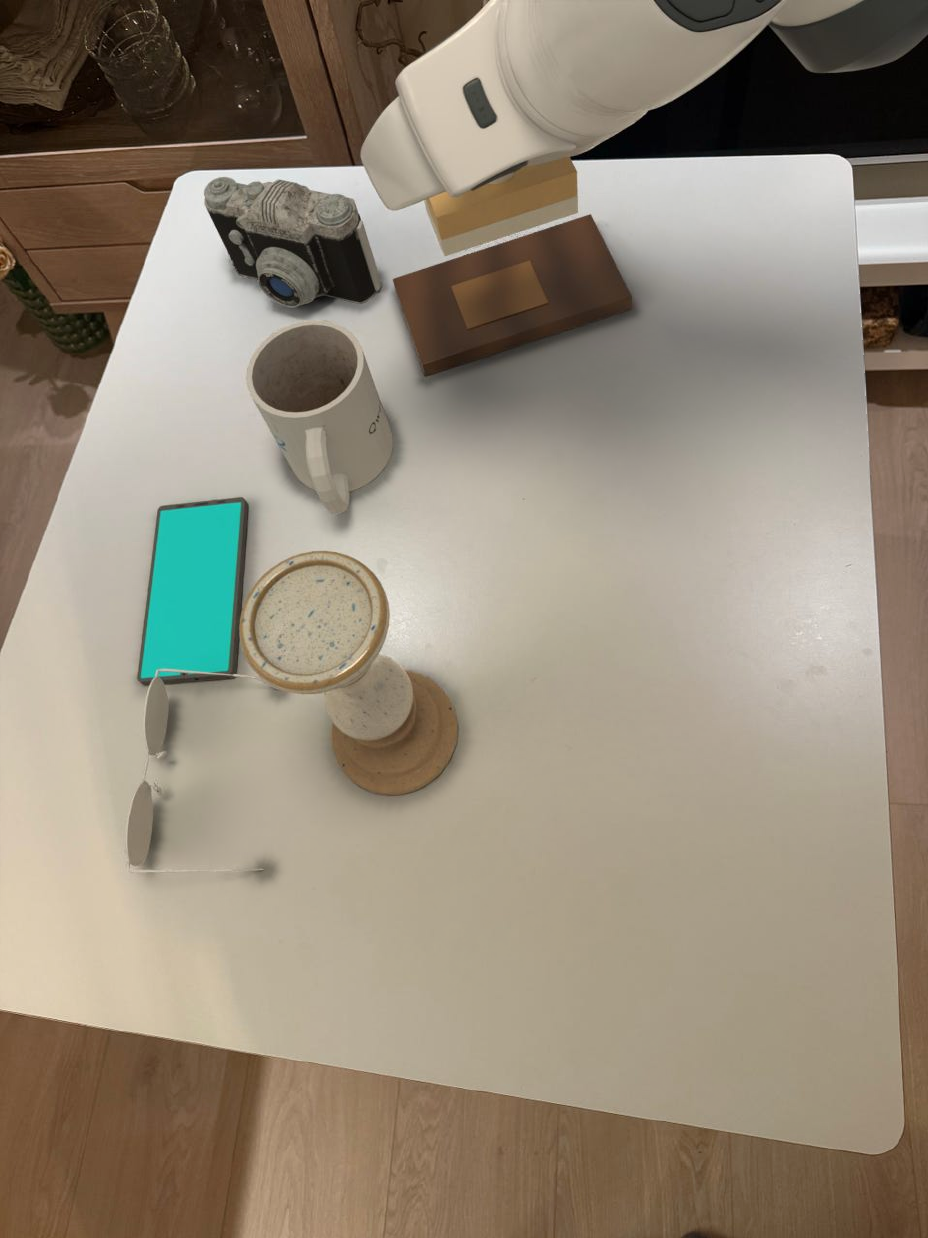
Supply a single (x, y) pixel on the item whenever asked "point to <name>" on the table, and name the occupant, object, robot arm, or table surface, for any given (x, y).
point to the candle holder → (348, 669)
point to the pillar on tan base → (505, 206)
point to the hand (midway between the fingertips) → (486, 127)
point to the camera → (294, 240)
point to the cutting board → (511, 294)
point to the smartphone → (194, 591)
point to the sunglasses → (142, 798)
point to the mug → (321, 408)
